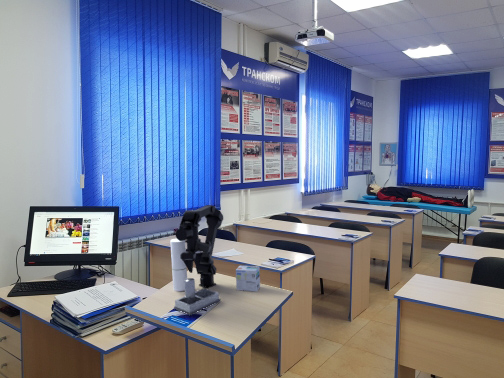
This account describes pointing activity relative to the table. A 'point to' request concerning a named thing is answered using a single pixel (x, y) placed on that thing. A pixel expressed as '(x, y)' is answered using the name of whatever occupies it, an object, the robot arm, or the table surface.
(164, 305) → the table surface
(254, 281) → the light bulb box
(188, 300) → the shiny gray cylinder
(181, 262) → the cylindrical container
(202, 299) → the gray divided tray
